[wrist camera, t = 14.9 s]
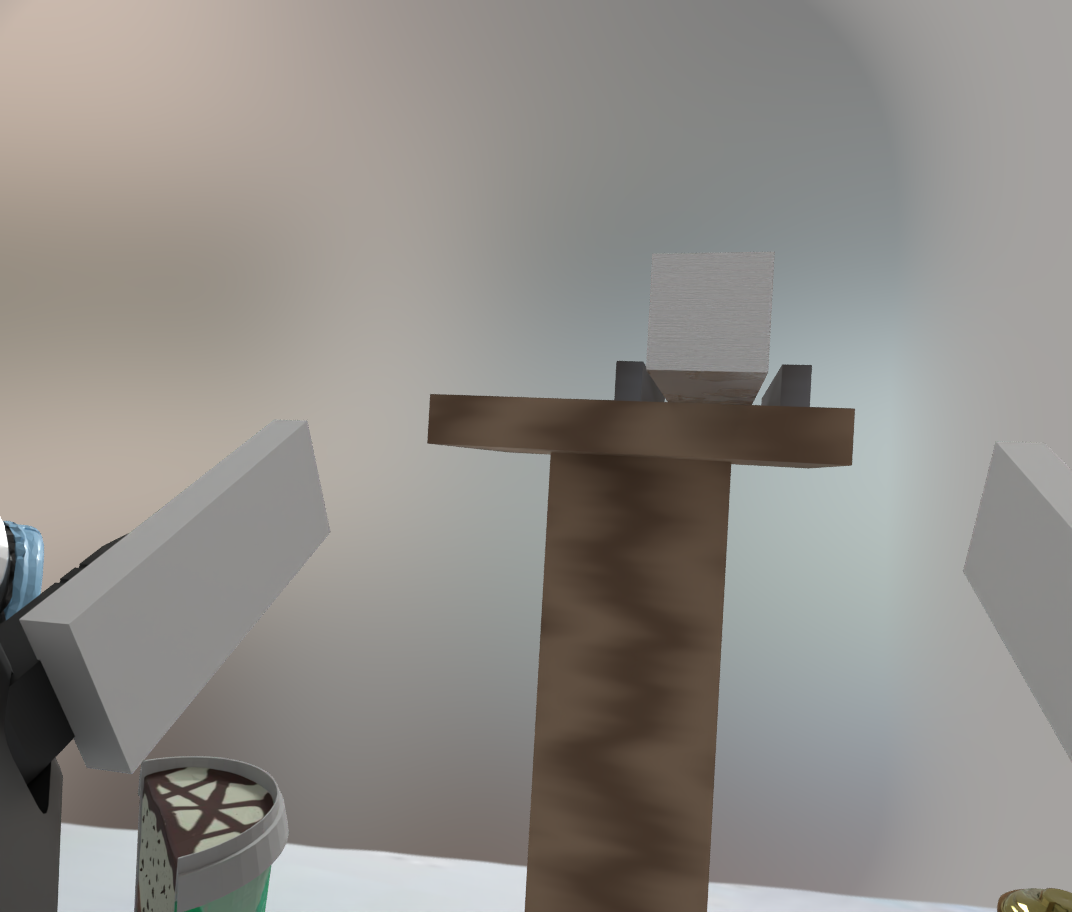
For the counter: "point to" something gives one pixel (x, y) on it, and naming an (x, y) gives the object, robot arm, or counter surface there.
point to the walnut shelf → (634, 620)
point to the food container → (206, 835)
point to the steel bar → (710, 325)
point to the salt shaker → (1035, 901)
